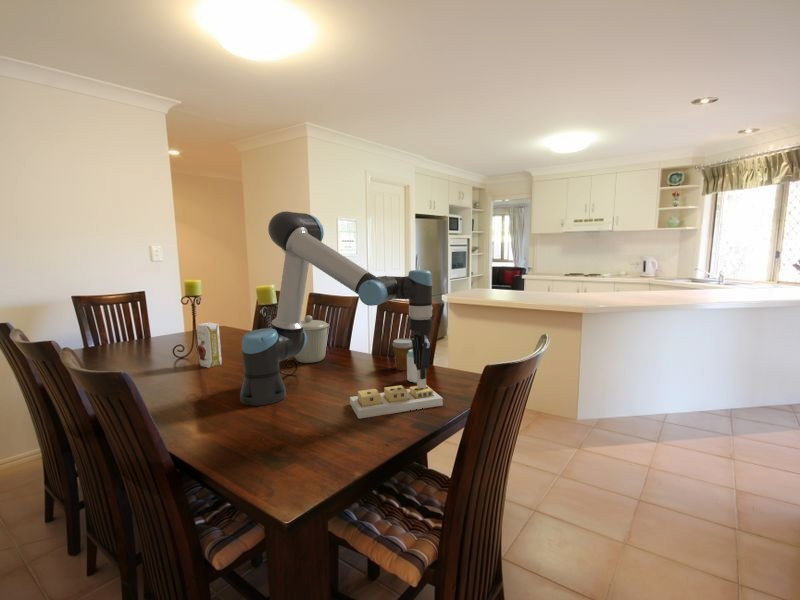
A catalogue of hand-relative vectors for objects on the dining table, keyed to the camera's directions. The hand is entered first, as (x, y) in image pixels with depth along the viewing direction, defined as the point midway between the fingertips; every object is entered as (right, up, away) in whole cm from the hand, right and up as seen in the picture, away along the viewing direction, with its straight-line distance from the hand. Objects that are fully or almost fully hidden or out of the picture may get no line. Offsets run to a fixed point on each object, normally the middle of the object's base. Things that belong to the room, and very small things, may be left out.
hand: (421, 387), depth 134 cm
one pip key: (-17, -4, -6) cm, 18 cm away
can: (-1, -2, +21) cm, 22 cm away
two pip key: (-9, -3, -3) cm, 10 cm away
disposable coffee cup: (-6, 0, +38) cm, 38 cm away
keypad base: (-9, -5, -2) cm, 10 cm away
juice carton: (-92, 0, +47) cm, 104 cm away
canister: (-49, +1, +52) cm, 71 cm away
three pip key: (0, -4, 0) cm, 4 cm away
